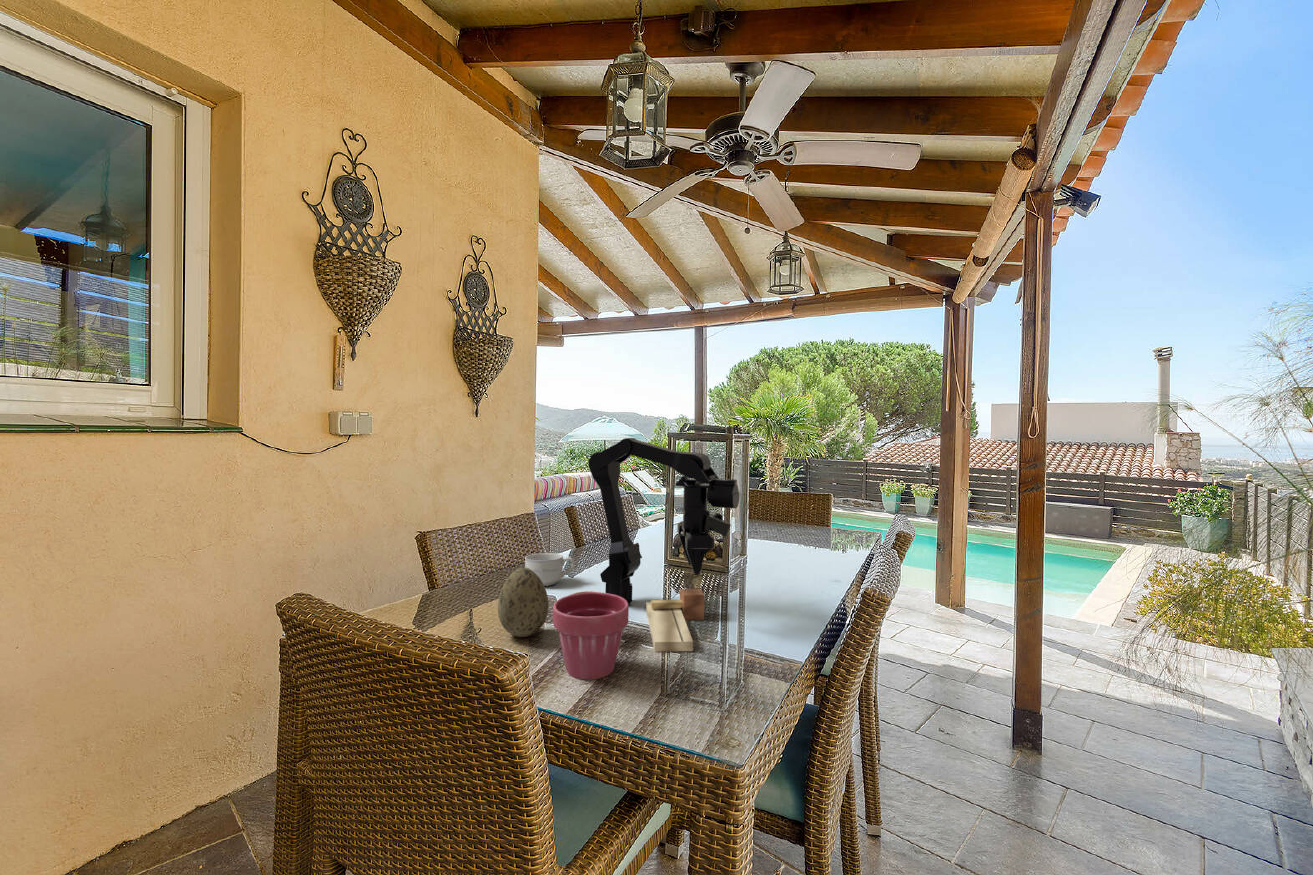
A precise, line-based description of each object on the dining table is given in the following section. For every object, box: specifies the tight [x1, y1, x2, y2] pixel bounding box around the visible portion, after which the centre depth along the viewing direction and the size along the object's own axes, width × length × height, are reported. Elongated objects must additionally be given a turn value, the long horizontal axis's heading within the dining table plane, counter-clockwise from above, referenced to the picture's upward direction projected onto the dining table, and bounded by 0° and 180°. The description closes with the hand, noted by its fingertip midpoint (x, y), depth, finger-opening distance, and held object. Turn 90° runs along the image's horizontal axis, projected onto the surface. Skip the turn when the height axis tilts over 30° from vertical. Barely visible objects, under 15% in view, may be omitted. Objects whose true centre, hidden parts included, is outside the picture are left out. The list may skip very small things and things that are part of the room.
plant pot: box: [552, 591, 630, 680], centre depth 109 cm, size 14×14×13 cm
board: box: [645, 601, 694, 653], centre depth 131 cm, size 8×25×2 cm, turn 5°
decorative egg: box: [497, 566, 550, 638], centre depth 125 cm, size 11×11×15 cm
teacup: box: [524, 552, 576, 587], centre depth 163 cm, size 14×11×8 cm
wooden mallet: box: [650, 588, 705, 621], centre depth 139 cm, size 12×5×6 cm, turn 99°
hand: (693, 569), depth 139 cm, fingers open, 9 cm apart
